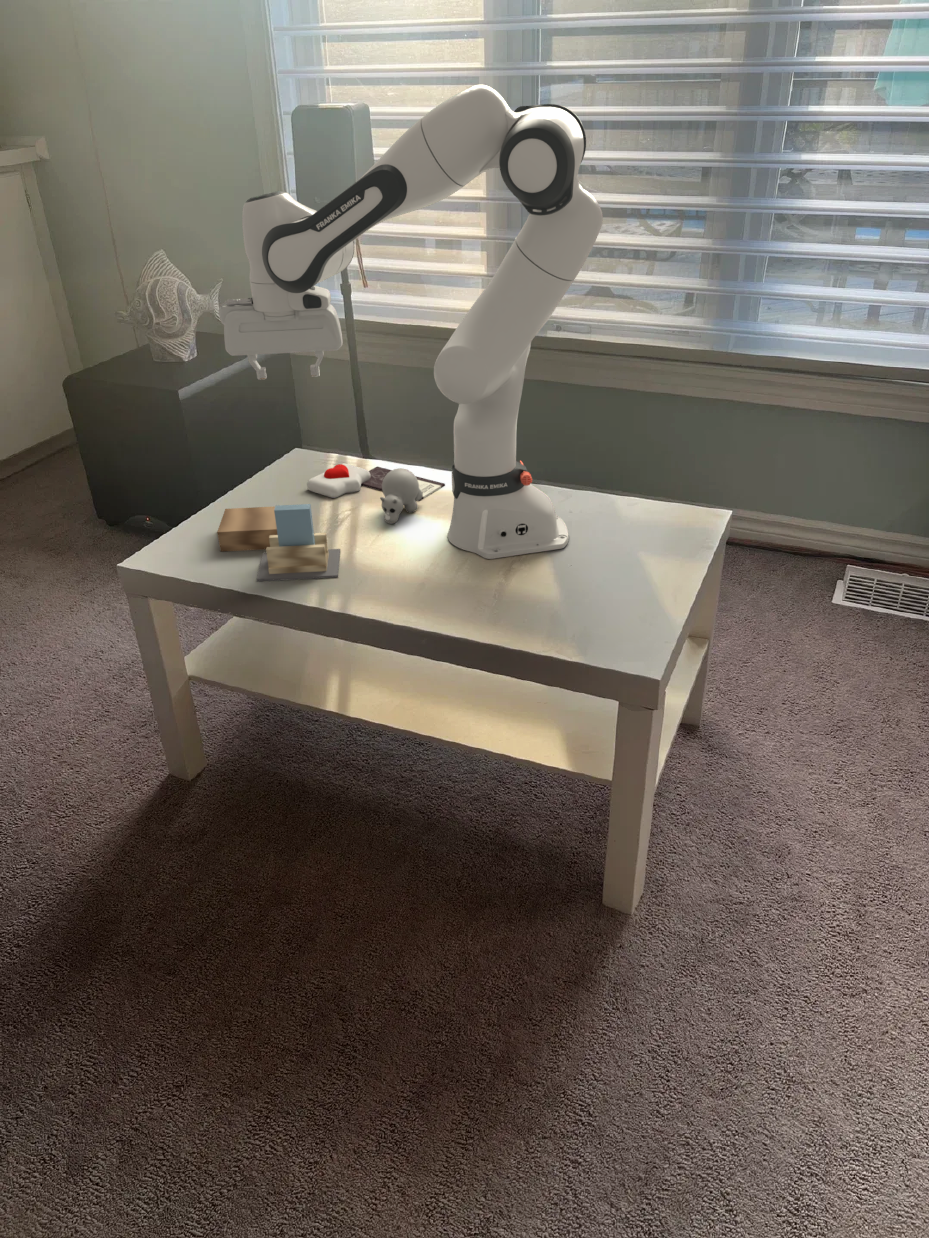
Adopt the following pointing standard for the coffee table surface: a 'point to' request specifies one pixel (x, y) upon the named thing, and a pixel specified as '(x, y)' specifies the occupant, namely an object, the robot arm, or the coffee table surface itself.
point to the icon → (338, 480)
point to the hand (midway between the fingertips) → (289, 377)
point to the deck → (246, 528)
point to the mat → (330, 573)
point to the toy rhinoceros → (399, 493)
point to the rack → (298, 556)
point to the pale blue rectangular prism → (294, 525)
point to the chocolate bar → (380, 473)
